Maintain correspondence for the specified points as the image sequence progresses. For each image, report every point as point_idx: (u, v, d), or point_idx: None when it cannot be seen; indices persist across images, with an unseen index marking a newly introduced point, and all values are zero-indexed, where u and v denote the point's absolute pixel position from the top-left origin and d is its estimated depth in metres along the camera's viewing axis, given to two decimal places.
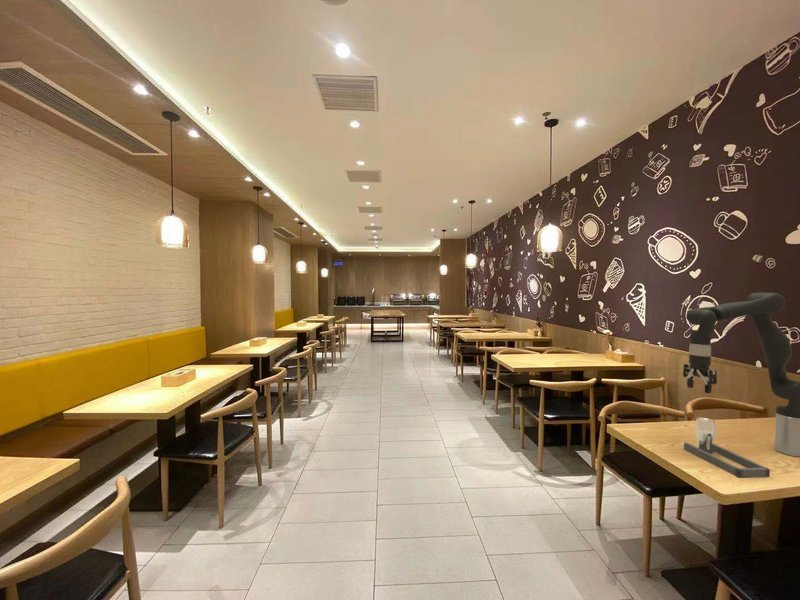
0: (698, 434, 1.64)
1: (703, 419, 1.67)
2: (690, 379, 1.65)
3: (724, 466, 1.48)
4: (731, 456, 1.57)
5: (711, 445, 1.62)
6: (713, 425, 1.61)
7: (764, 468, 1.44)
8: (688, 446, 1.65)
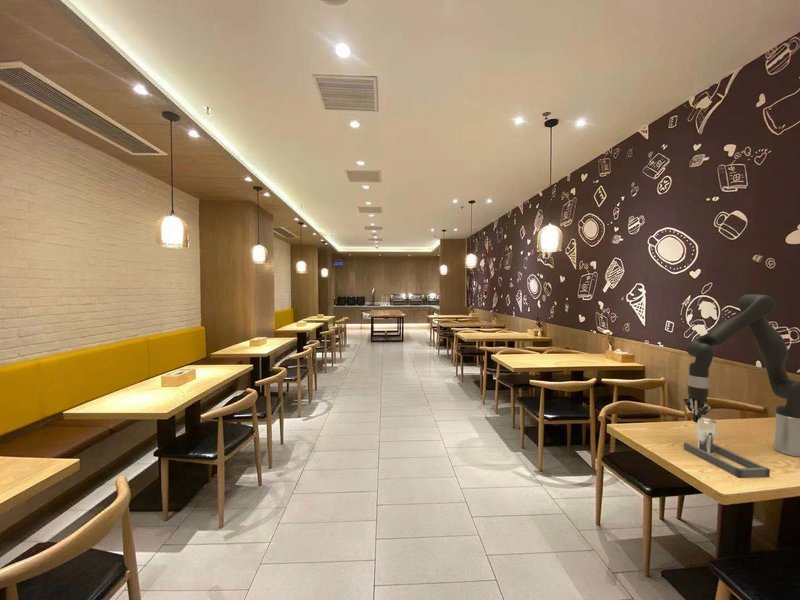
0: (699, 434, 1.63)
1: (704, 419, 1.66)
2: None
3: (724, 466, 1.48)
4: (731, 456, 1.57)
5: (711, 445, 1.61)
6: (714, 426, 1.60)
7: (764, 468, 1.44)
8: (688, 446, 1.65)
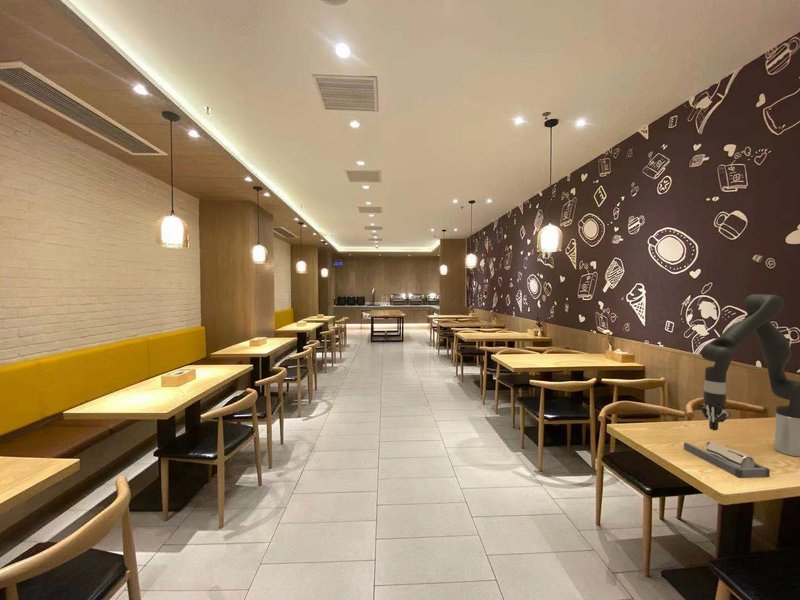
0: (724, 455, 1.53)
1: (750, 457, 1.47)
2: None
3: (724, 466, 1.48)
4: None
5: None
6: None
7: (764, 468, 1.44)
8: (688, 446, 1.65)
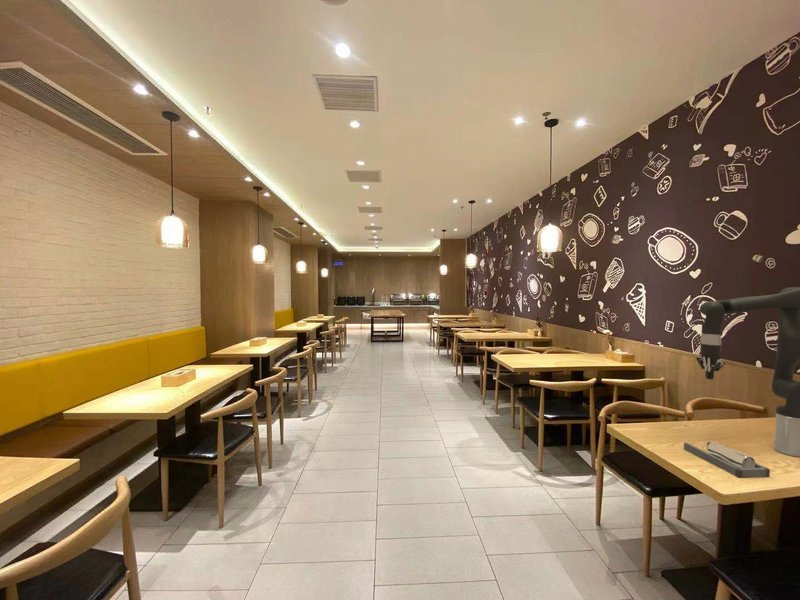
0: (725, 454, 1.53)
1: (751, 458, 1.47)
2: None
3: (724, 466, 1.48)
4: None
5: None
6: None
7: (764, 468, 1.44)
8: (688, 446, 1.65)
